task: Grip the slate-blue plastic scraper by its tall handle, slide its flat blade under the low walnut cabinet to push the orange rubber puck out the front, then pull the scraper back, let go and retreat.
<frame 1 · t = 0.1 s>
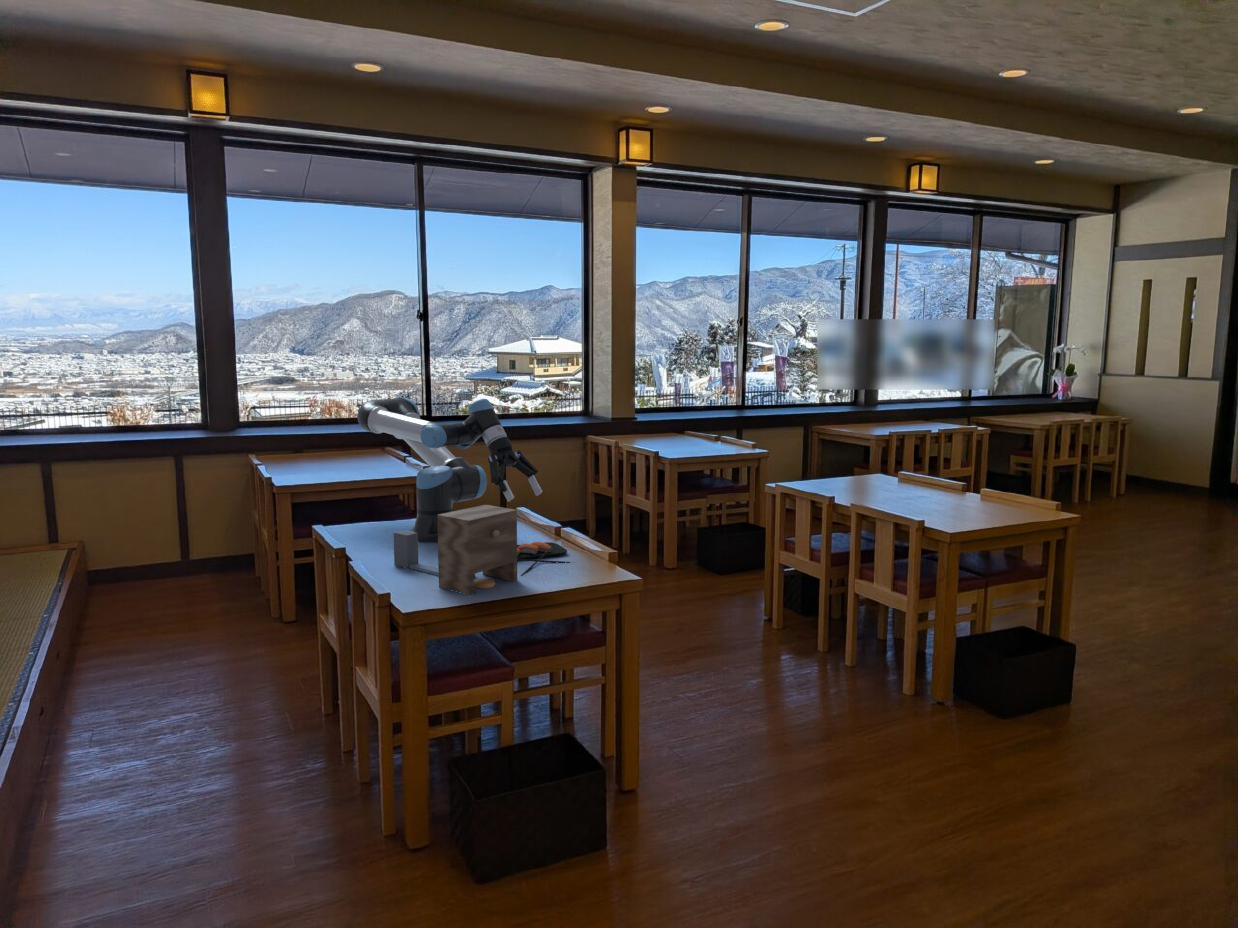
hand: (525, 496, 280), 15 cm above the table, tool tilted 35°, fingers open, 13 cm apart
puck: (483, 586, 233), on the table
cabinet: (478, 583, 234), on the table
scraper: (406, 565, 252), on the table
sushi plate: (526, 563, 259), on the table
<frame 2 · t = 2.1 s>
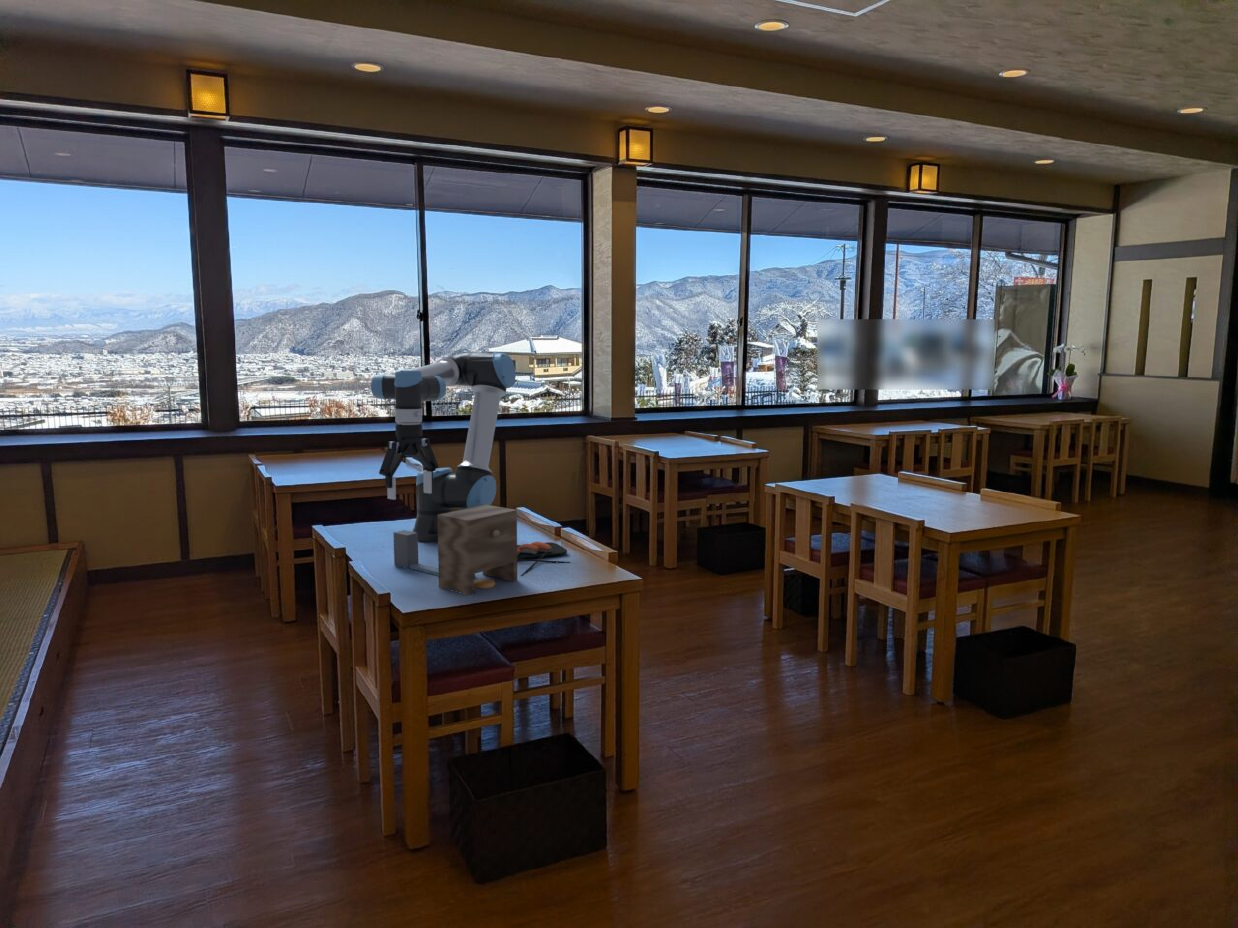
hand: (410, 496, 249), 21 cm above the table, tool pointing down, fingers open, 13 cm apart
nothing on the table moved.
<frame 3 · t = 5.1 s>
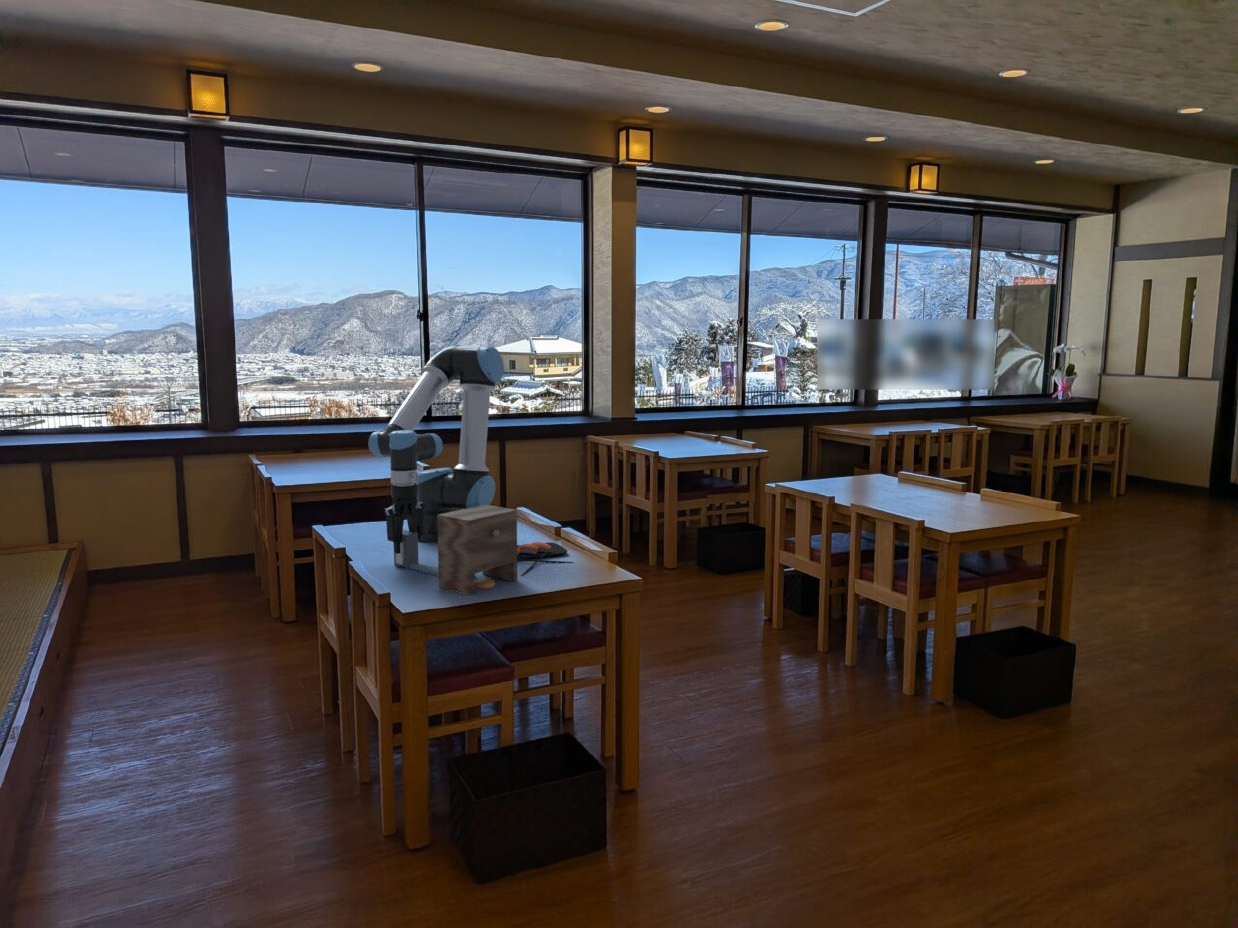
hand: (406, 561, 252), 1 cm above the table, tool pointing down, fingers closed on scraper, 4 cm apart
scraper: (406, 565, 252), on the table, touching gripper
everything else where it was.
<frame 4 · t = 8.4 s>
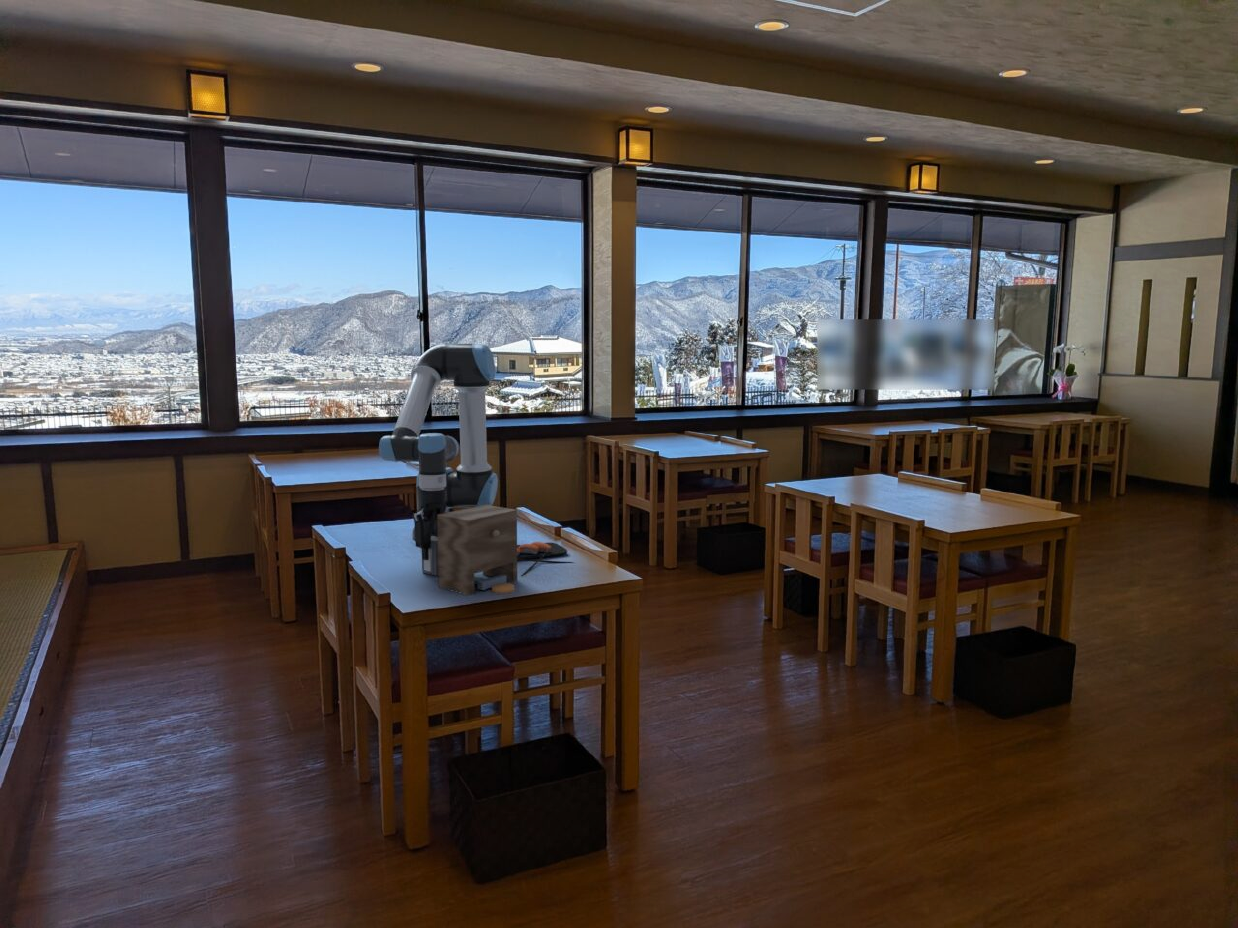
hand: (434, 568, 244), 1 cm above the table, tool pointing down, fingers closed on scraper, 4 cm apart
puck: (503, 590, 229), on the table
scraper: (434, 572, 245), on the table, touching gripper
everything else where it was.
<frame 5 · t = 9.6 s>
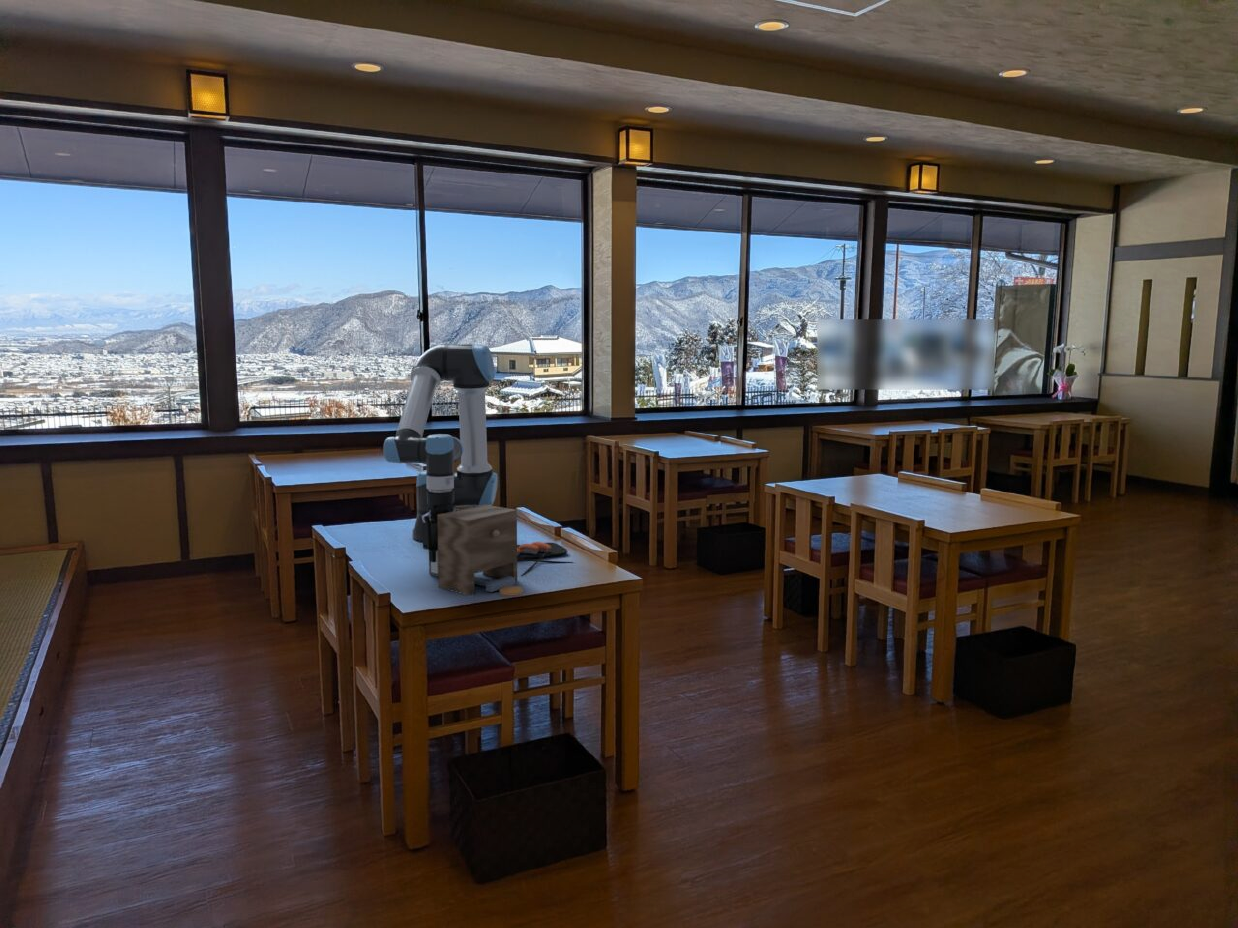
hand: (441, 570, 243), 1 cm above the table, tool pointing down, fingers closed on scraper, 4 cm apart
puck: (511, 593, 227), on the table
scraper: (441, 574, 243), on the table, touching gripper
everything else where it was.
when the fingers open (1 cm above the table, at t = 12.3 s): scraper stays where it is, on the table.
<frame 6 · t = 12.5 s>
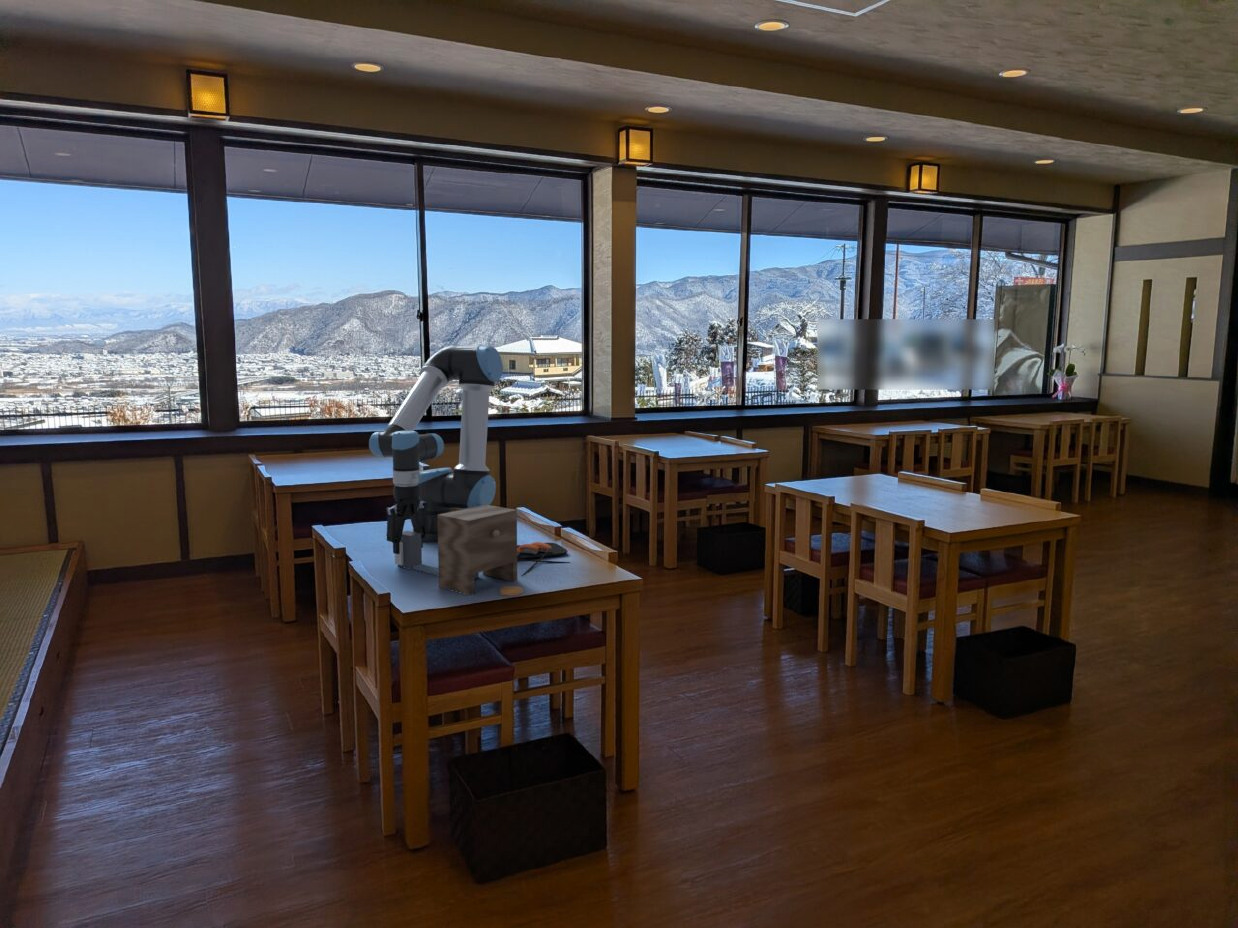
hand: (408, 561, 251), 1 cm above the table, tool pointing down, fingers open, 6 cm apart
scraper: (409, 566, 251), on the table
everything else where it was.
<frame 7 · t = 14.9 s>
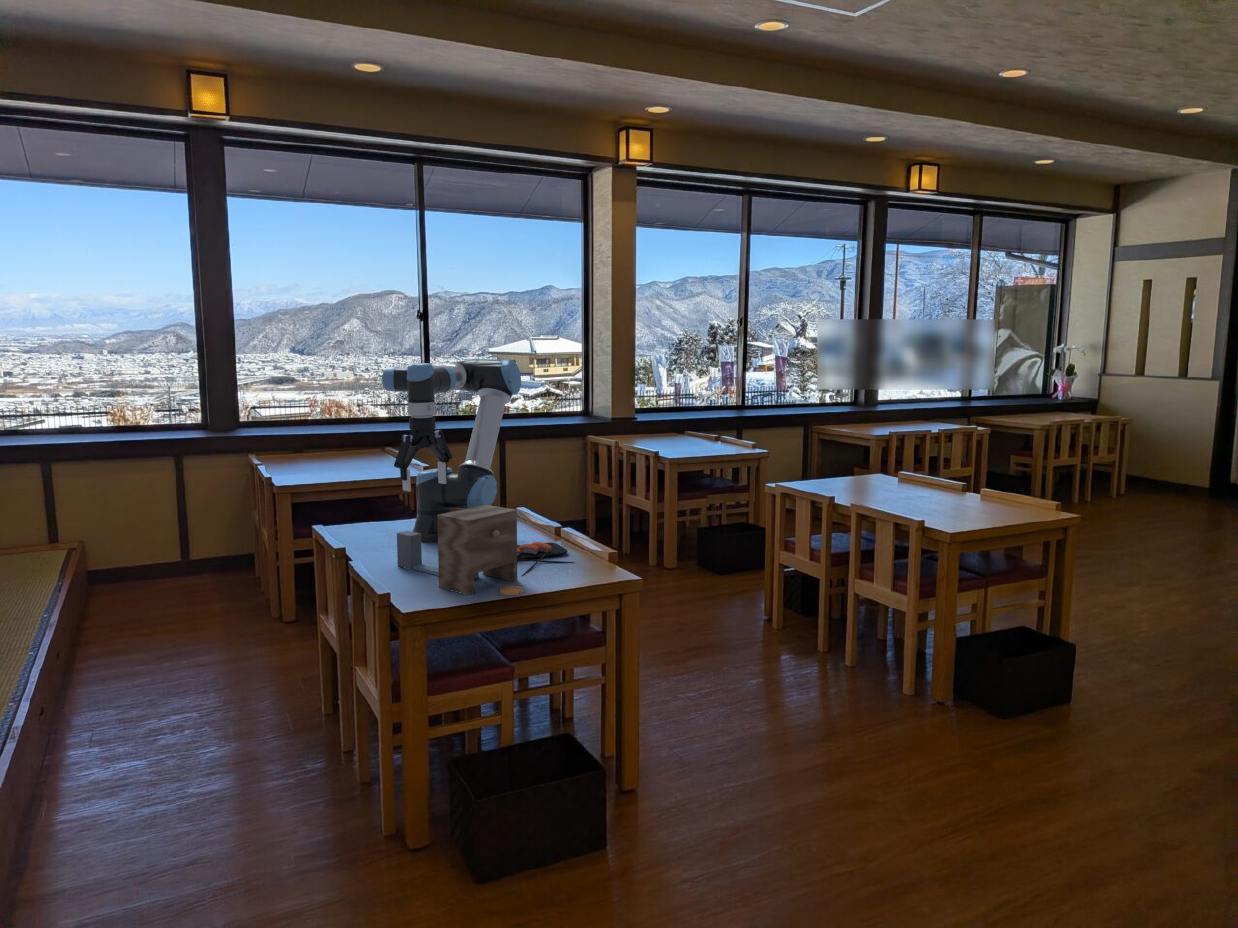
hand: (425, 487, 255), 22 cm above the table, tool pointing down, fingers open, 13 cm apart
nothing on the table moved.
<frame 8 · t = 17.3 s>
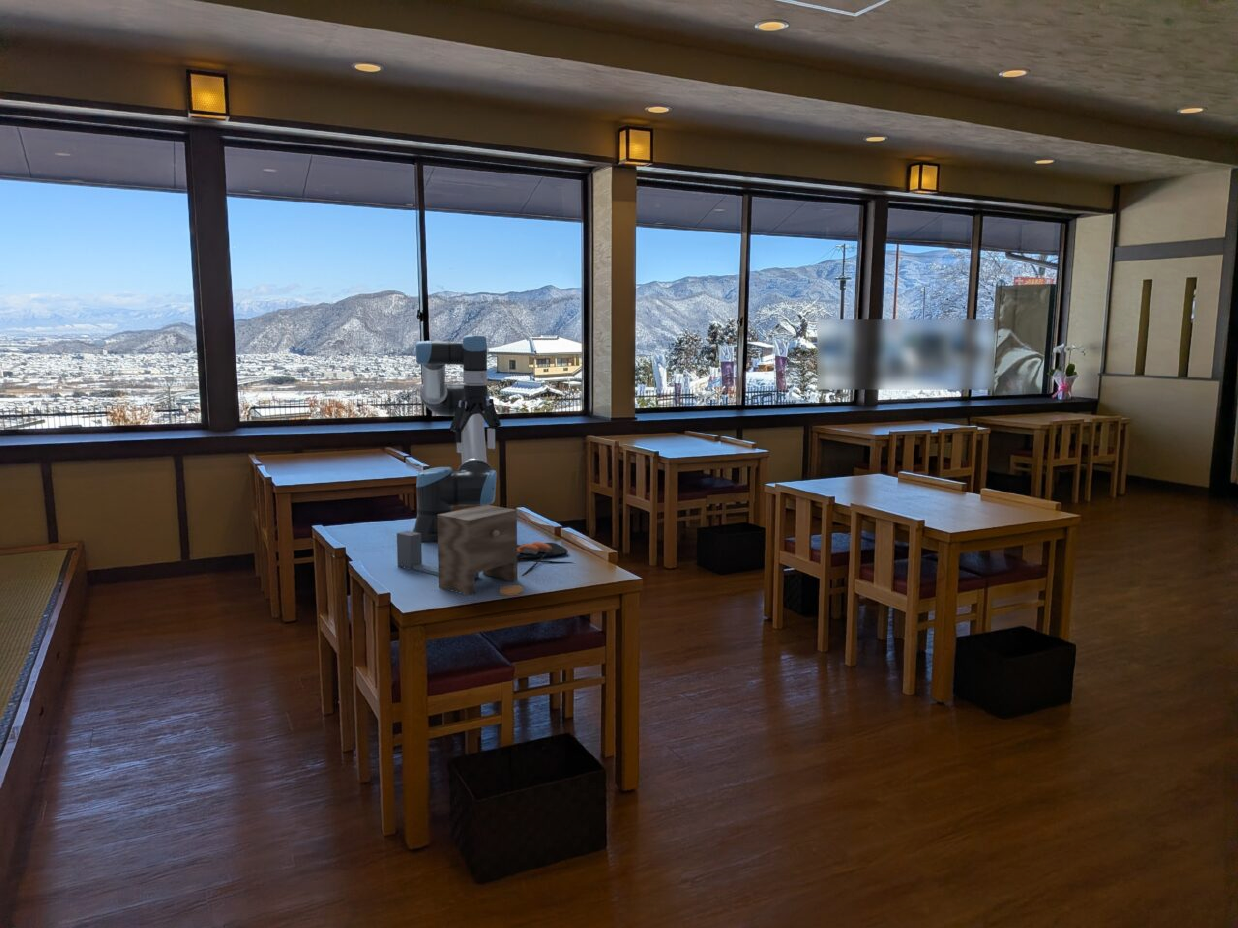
hand: (476, 450, 275), 31 cm above the table, tool pointing down, fingers open, 13 cm apart
nothing on the table moved.
at the end: puck inside the target area (1.1 cm from its centre), on the table; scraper inside the target area (0.4 cm from its centre), on the table; the gripper is holding nothing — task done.
